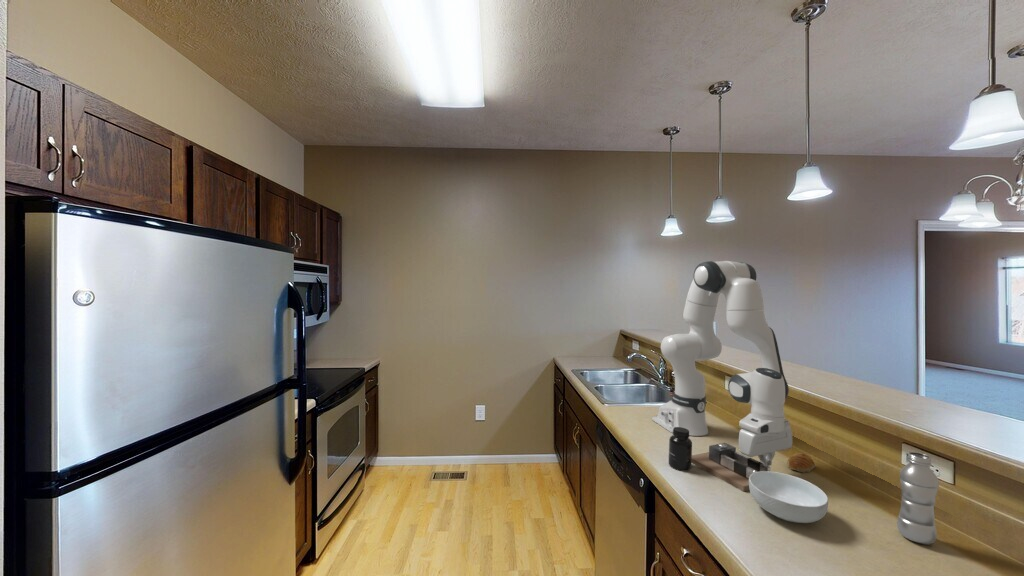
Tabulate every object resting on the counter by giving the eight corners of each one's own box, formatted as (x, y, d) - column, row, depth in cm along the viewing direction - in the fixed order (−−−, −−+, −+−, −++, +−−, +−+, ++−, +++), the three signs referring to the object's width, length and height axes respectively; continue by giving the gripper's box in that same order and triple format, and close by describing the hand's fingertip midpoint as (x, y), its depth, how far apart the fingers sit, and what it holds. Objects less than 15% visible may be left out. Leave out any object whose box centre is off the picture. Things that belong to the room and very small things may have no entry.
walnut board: (687, 460, 129) (687, 456, 129) (720, 454, 135) (720, 449, 135) (743, 491, 111) (743, 486, 111) (778, 482, 116) (778, 477, 116)
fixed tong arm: (720, 464, 123) (720, 454, 123) (722, 464, 124) (723, 454, 124) (754, 482, 113) (755, 471, 113) (757, 481, 113) (757, 470, 113)
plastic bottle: (888, 531, 94) (891, 449, 94) (913, 530, 95) (916, 449, 94) (918, 549, 88) (922, 461, 87) (945, 548, 88) (949, 461, 88)
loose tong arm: (733, 461, 126) (733, 451, 125) (736, 461, 126) (736, 451, 126) (768, 478, 115) (769, 468, 115) (771, 478, 115) (771, 467, 115)
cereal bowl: (735, 494, 109) (736, 469, 109) (795, 496, 109) (796, 471, 109) (774, 533, 92) (775, 504, 92) (845, 536, 92) (846, 506, 92)
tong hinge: (708, 459, 127) (709, 443, 127) (724, 456, 130) (725, 440, 130) (719, 464, 124) (719, 448, 123) (735, 461, 126) (735, 445, 126)
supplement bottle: (665, 466, 125) (666, 429, 125) (672, 459, 130) (674, 423, 130) (687, 473, 120) (688, 435, 120) (694, 466, 125) (695, 429, 125)
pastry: (809, 477, 120) (809, 464, 120) (783, 468, 126) (783, 457, 125) (816, 467, 127) (816, 456, 127) (791, 460, 132) (791, 449, 132)
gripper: (778, 414, 128) (777, 456, 128) (735, 422, 120) (733, 466, 120) (799, 421, 122) (797, 464, 122) (754, 429, 114) (753, 475, 115)
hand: (765, 465), depth 121 cm, fingers closed
